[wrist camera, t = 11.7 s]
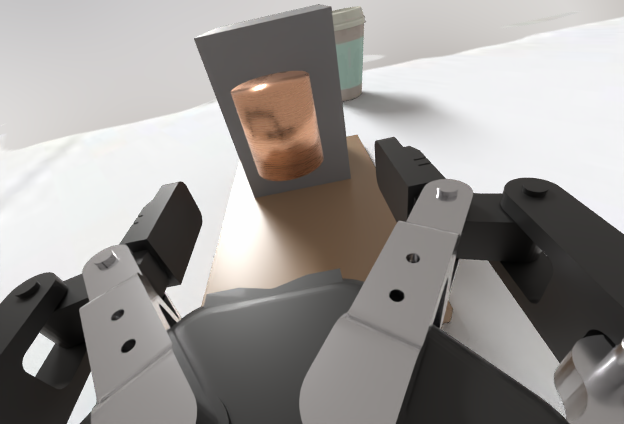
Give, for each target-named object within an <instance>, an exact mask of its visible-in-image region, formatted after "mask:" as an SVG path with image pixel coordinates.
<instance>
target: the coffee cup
mask: <svg viewBox="0 0 624 424" xmlns="http://www.w3.org/2000/svg"><path fill="white" fill-rule="evenodd" d="M332 17H333V26H334V34H335V43H336V52H337V61H338V69H339V78H340V87H341V96H342V101H347V100H351V99H354V98H356V97H358V96H360V95H361V92H362V65H363V38H364V23H365V22H366V21H365V16H364V15H363V12H362V9H361V7H360V6H357V7H350V8H344V9H339V10H335V11H332Z"/></svg>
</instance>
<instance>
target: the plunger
mask: <svg viewBox="0 0 624 424" xmlns="http://www.w3.org/2000/svg"><path fill="white" fill-rule="evenodd" d="M231 95H232V98H233V101H234V104H235V107H236V110H237V113H238V115H239V118H240V121H241V124H242V127H243V130H244V133H245V136H246V139H247V142H248V144H249V147H250V150H251V153H252V156H253V159H254V162H255V165H256V168H257V170H258V173H259V175H260V176H261V177H262V178H264V179H267V180H271V181H287V180H292V179H296V178H300V177H302V176H305V175H307V174H309V173H311V172H313V171H314V170H316V169H317V168H318V167H319V166H320V165H321V163H322V162H323V152H322V146H321V140H320V134H319V129H318V123H317V117H316V111H315V106H314V100H313V94H312V89H311V83H310V77H309V73H307V72H305V71H286V72H279V73H274V74H269V75H265V76H261V77H258V78H255V79H252V80H249V81H247V82H244V83H242V84H240V85H238V86H236V87H235V88H234V89H232V91H231Z"/></svg>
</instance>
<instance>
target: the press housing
mask: <svg viewBox="0 0 624 424" xmlns="http://www.w3.org/2000/svg"><path fill="white" fill-rule="evenodd" d="M194 40H195V43H196V45H197V48H198V51H199V53H200V56H201V58H202V61H203V64H204V66H205V69H206V71H207V74H208V77H209V80H210V82H211V85H212V87H213V90H214V92H215V95H216V98H217V101H218V103H219V106H220V109H221V111H222V114H223V116H224V119H225V122H226V124H227V127H228V130H229V132H230V135H231V138H232V140H233V143H234V145H235V148H236V151H237V153H238V156H239V159H240V160H239V164H238V168H237V172H236V176H235V179H234V183H233V187H232V191H231V195H230V198H229V202H228V206H227V210H226V214H225V218H224V221H223V225H222V229H221V233H220V237H219V240H218V244H217V248H216V252H215V256H214V259H213V263H212V267H211V271H210V275H209V279H208V282H207V286H206V290H205V294H204V298H203V301H202V305H201V307H202V306H204V303H205V299H206V295H207V294H209V293H214V292H219V291H225V290H230V289H235V288H263V289H272V288H276V287H278V286H281V285H283V284H285V283H288V282H290V281H293V280H295V279H297V278H300V277H302V276H305V275H307V274H313V273H318V272H323V271H328V270H333V269H339V268H340V271H341V275H342V278H346V279H355V280H360V281H364V282H365V280H366V278H367V277H368V275H369V273H370V271H371V269H372V267H373V266H374V264H375V262H376V260H377V258H378V256H379V255H380V253H381V251H382V249H383V247H384V245H385V244H386V242H387V240H388V238H389V236H390V235H391V233H392V231H393V229H394V227H395V225H396V224H397V222H396V220H395V218H394V216H393V214H392V212H391V210H390V209H389V207H388V205H387V203H386V201H385V199H384V197H383V195H382V193H381V191H380V189H379V187H378V183H377V178H376V168H375V166H374V164H373V162H372V161H371V159H370V157H369V155H368V153H367V152H366V150H365V148H364V146H363V144H362V142H361V141H360V139H359V137H358V135H353V136H348V137H346V131H345V122H344V113H343V104H342V96H341V87H340V78H339V69H338V61H337V52H336V43H335V34H334V26H333V17H332V8H331V6H324V5H320V4H318V5H313V6H309V7H305V8H300V9H296V10H291V11H287V12H283V13H278V14H274V15H270V16H266V17H261V18H257V19H253V20H248V21H244V22H240V23H235V24H231V25H227V26H223V27H218V28H215V29H213V30H211V31H209V32H207V33H204V34H202V35H200V36H198V37H196V38H194ZM286 71H305V72H307V73H309V77H310V83H311V89H312V94H313V100H314V106H315V111H316V117H317V123H318V129H319V134H320V140H321V146H322V152H323V162H322V163H321V165H320V166H319V167H318V168H317V169H316V170H314V171H313V172H311V173H309V174H307V175H305V176H302V177H300V178H296V179H292V180H287V181H271V180H267V179H264V178H262V177H261V176H260V175H259V173H258V170H257V168H256V165H255V162H254V159H253V156H252V153H251V150H250V147H249V144H248V142H247V139H246V136H245V133H244V130H243V127H242V124H241V121H240V118H239V115H238V113H237V110H236V107H235V104H234V101H233V98H232V95H231V91H232V89H234V88H235V87H236V86H238V85H240V84H242V83H244V82H247V81H249V80H252V79H255V78H258V77H261V76H265V75H269V74H274V73H279V72H286ZM452 312H453V308H452V306H451V305H450V303H449V301H448V303H447V307H446V311H445V315H444V320H443V323H447V322H450V321H451V317H452Z"/></svg>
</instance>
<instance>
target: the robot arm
mask: <svg viewBox="0 0 624 424" xmlns="http://www.w3.org/2000/svg"><path fill="white" fill-rule="evenodd" d="M375 163H376V178H377V183H378V187H379V189H380V191H381V193H382V195H383V197H384V199H385V201H386V203H387V205H388V207H389V209H390V210H391V212H392V214H393V216H394V218H395V220H396V222H397V224H396V225H395V227H394V229H393V231H392V233H391V235H390V236H389V238H388V240H387V242H386V244H385V245H384V247H383V249H382V251H381V253H380V255H379V256H378V258H377V260H376V262H375V264H374V266H373V267H372V269H371V271H370V273H369V275H368V277H367V278H366V280H365V282H364V281H360V280H355V279H346V278H342V275H341V271H340V268H339V269H333V270H328V271H323V272H318V273H313V274H307V275H305V276H302V277H300V278H297V279H295V280H293V281H290V282H288V283H285V284H283V285H281V286H278V287H276V288H272V289H263V288H235V289H230V290H225V291H219V292H214V293H209V294H207V295H206V299H205V303H204V306H202V307H200V308H198V309H196V310H194V311H192V312H191V313H189V314H187V315H186V316H185V317H183V318H181V316H180V315H179V313H178V311H177V310H176V308H175V306H174V305H173V303H172V301H171V299H170V298H169V296H168V295H167V294H166V293H165V290H166V288H167V287H171V286H176V285H181V283H182V280H183V277H184V274H185V271H186V269H187V266H188V263H189V260H190V257H191V254H192V251H193V249H194V246H195V243H196V240H197V237H198V234H199V232H200V229H201V226H202V215H201V212H200V210H199V208H198V206H197V205H196V203H195V201H194V199H193V197H192V195H191V193H190V192H189V190H188V188H187V186H186V185H185V184H184V183H183V182H176V183H171V184H167V185H163V186H162V187H161V188H160V190H159V191H158V193H157V194H156V196H155V197H154V199H153V200H152V201H151V202H150V203H148V204H147V205H146V206H145V207H144V208H143V209H142V211H141V212H140V214H139V215H138V218H136V220H135V221H134V225H132V226H131V227H130V229H129V231H128V232H127V234H126V235H125V237H124V238H123V240H122V241H121V243H120V244H119V245H115V246H111V247H109V248H106V249H104V250H102V251H101V252H99V253H97V254H96V255H95V256H93V257H92V258H91V259H90V260H89V261H88V262H87V263H86V265H85V266H84V268H83V271H82V274H80V275H78V276H75V277H73V278H70V279H68V280H66V281H62V280H61V279H60V278H59V277H57V276H56V275H55V274H54V273H50V272H49V273H43V274H39V275H37V276H34V277H32V278H30V279H28V280H27V281H25V282H23V283H22V284H20V285H19V286H18V287H16V288H15V289H14V290H13V291H12V292H11V293H10V294H9V295H8V296H7V297H6V298H5V299H4V300H3V301H2V303H1V304H0V424H67V422H68V419H69V417H70V415H71V413H72V411H73V409H74V406H75V404H76V402H77V400H78V398H79V396H80V393H81V391H82V389H83V387H84V385H85V383H86V380H87V378H88V376H89V374H90V372H92V377H93V382H94V387H95V392H96V397H97V402H96V405H95V406H94V407H93V409H92V411H91V412H90V413H89V414H88V415H87V417H86V418H85V419H84V420H83V421H82V422H81V423H80V424H624V234H623V233H621V232H620V231H619V230H617V229H616V228H614V227H613V226H612V225H610V224H609V223H608V222H606V221H605V220H604V219H602V218H601V217H600V216H598V215H597V214H596V213H594V212H593V211H592V210H590V209H589V208H588V207H586V206H585V205H584V204H582V203H581V202H580V201H578V200H577V199H576V198H574V197H573V196H572V195H570V194H569V193H568V192H566V191H565V190H564V189H562V188H561V187H559V186H558V185H556V184H554V183H552V182H549V181H546V180H542V179H537V178H518V179H514V180H511V181H509V182H508V183H507V184H506V185H505V187H504V191H503V194H479V193H473V190H472V189H471V187H470V186H468V185H467V184H465V183H463V182H461V181H457V180H452V179H446V178H445V177H444V176H443V175H442V174H441V173H440V172H439V171H438V170H437V169H436V168H435V166H434V165H433V164H431V162H430V161H429V160H428V159H427V158H426V157H425V156H424V155H423V153H422V152H421V151H420V150H417V149H415V148H413V147H411V146H407V147H403V146H402V145H401V144H400V143H399V142H398V140H397V139H396V138H395V137H391V138H386V139H382V140H377V141H375ZM545 254H546V255H547V256H546V255H545ZM460 259H473V260H488V261H489V263H490V264H491V265H492V267H493V268H494V270H495V271H496V273H497V274H498V275H499V277H500V278H501V280H502V281H503V283H504V284H505V285H506V287H507V288H508V290H509V291H510V293H511V294H512V295H513V297H514V298H515V300H516V301H517V303H518V304H519V306H520V307H521V308H522V310H523V311H524V313H525V314H526V316H527V317H528V318H529V320H530V321H531V323H532V324H533V326H534V327H535V328H536V330H537V331H538V333H539V334H540V336H541V337H542V338H543V340H544V341H545V343H546V344H547V346H548V347H549V348H550V350H551V351H552V353H553V354H554V356H555V357H556V358H557V360H558V361H559V363H560V364H559V366H558V367H557V368H556V370H555V373H554V383H555V387H556V390H557V392H558V394H559V396H560V398H561V400H562V402H563V405H564V408H565V412H566V419H565V418H564V417H563V416H562V415H561V414H560V413H559V412H558V411H557V410H555V409H554V408H553V407H552V406H551V405H550V404H548V403H547V402H546V401H544V400H543V399H542V398H540V397H539V396H538V395H536V394H535V393H533V392H532V391H530V390H529V389H527V388H526V387H525V386H523V385H522V384H520V383H519V382H517V381H516V380H514V379H513V378H511V377H510V376H508V375H507V374H505V373H504V372H503V371H501V370H500V369H498V368H497V367H495V366H494V365H492V364H491V363H489V362H488V361H486V360H485V359H483V358H482V357H481V356H479V355H478V354H476V353H475V352H473V351H472V350H470V349H469V348H467V347H466V346H464V345H463V344H461V343H460V342H459V341H457V340H456V339H454V338H453V337H451V336H450V335H448V334H447V333H445V332H444V331H442V330H441V327H442V323H443V320H444V315H445V311H446V307H447V303H448V299H449V296H450V292H451V289H452V286H453V282H454V279H455V275H456V272H457V268H458V265H459V261H460ZM39 332H40V333H41V334H42V335H44V336H45V337H47V338H48V339H50V340H51V341H53V342H54V343H55V345H54V346H53V348H52V350H51V351H50V353H49V355H48V356H47V358H46V360H45V361H44V363H43V365H42V366H41V368H40V370H39V371H38V373H37V375H36V376H35V377H34V376H32V375H30V374H28V373H27V372H25V370H24V369H23V365H22V361H23V357H24V355H25V353H26V352H27V350H28V349H29V347H30V346H31V344H32V343H33V341H34V340H35V338H36V337H37V335H38V334H39Z"/></svg>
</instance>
